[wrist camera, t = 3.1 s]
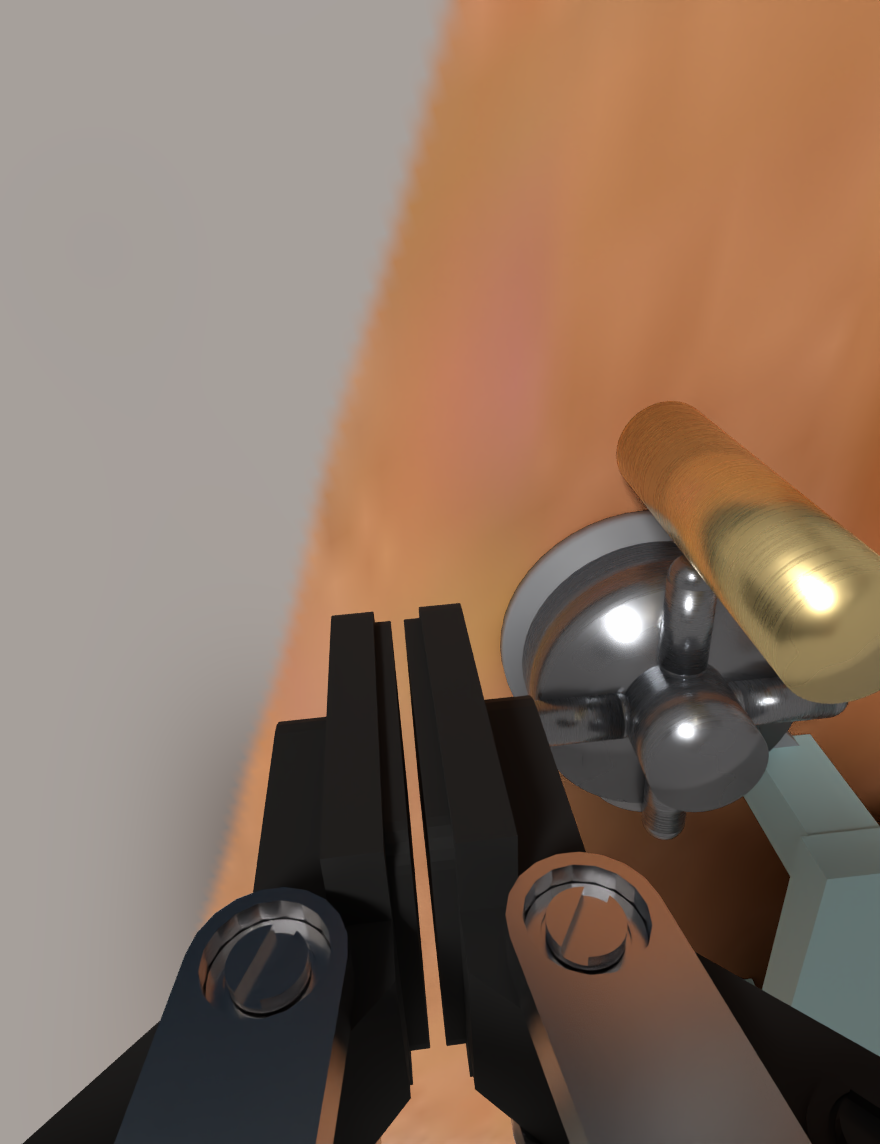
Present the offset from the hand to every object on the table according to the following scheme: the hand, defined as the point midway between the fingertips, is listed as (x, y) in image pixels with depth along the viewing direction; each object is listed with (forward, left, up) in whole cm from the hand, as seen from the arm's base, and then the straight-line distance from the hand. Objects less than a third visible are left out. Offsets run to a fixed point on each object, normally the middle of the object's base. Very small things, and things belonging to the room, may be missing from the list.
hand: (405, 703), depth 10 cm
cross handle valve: (+3, +6, -7) cm, 10 cm away
